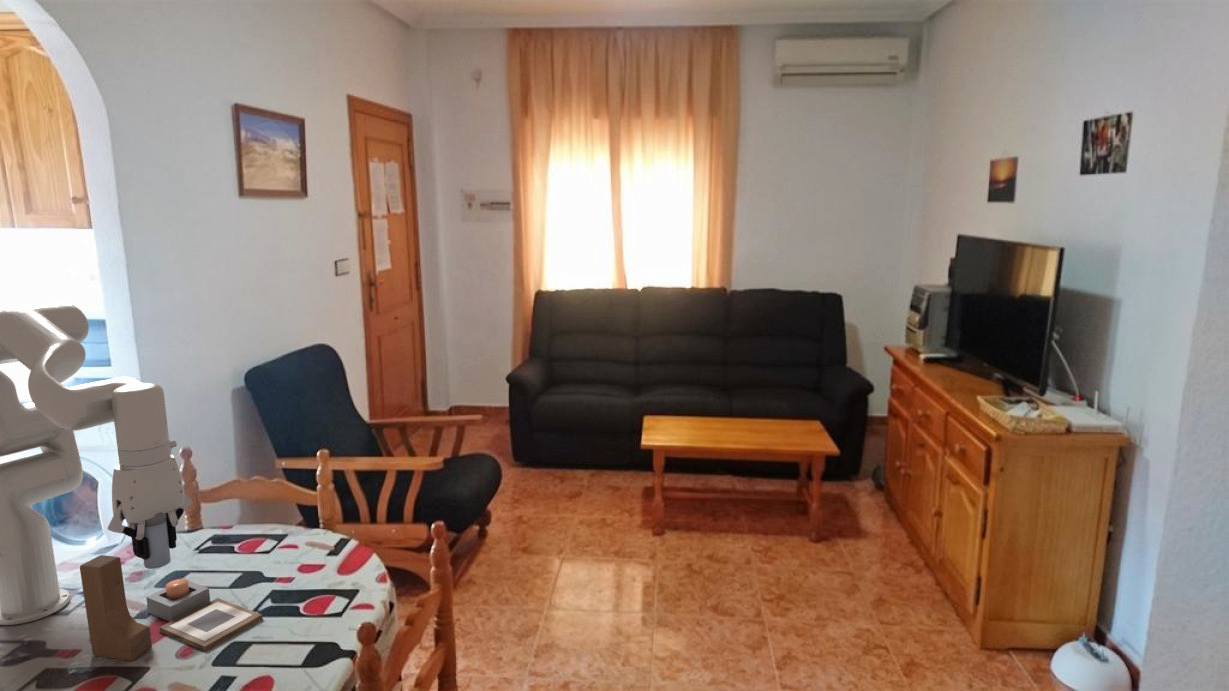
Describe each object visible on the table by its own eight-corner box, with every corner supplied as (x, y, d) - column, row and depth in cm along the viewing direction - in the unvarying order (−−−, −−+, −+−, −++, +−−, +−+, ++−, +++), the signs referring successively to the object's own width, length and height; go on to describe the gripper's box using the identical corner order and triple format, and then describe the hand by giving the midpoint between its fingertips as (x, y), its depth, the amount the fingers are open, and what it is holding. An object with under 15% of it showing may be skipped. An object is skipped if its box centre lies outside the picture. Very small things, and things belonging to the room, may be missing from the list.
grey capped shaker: (138, 565, 125) (132, 512, 123) (162, 555, 129) (156, 504, 127) (152, 571, 123) (146, 517, 122) (176, 560, 127) (170, 508, 125)
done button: (162, 597, 144) (161, 585, 144) (181, 588, 148) (180, 577, 147) (174, 601, 143) (173, 590, 142) (193, 592, 146) (192, 581, 146)
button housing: (148, 612, 144) (146, 597, 143) (186, 594, 151) (185, 579, 150) (172, 622, 140) (170, 606, 140) (210, 603, 147) (208, 588, 147)
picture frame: (159, 631, 137) (159, 626, 137) (218, 602, 148) (217, 597, 148) (205, 651, 131) (204, 645, 131) (262, 619, 142) (262, 613, 141)
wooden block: (153, 647, 132) (141, 558, 129) (132, 662, 128) (120, 570, 125) (113, 641, 134) (100, 554, 131) (91, 656, 130) (78, 565, 127)
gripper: (179, 438, 131) (189, 529, 135) (79, 465, 117) (92, 567, 120) (204, 444, 128) (214, 538, 132) (105, 473, 113) (118, 578, 117)
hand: (156, 551), depth 126 cm, fingers closed on grey capped shaker, 4 cm apart
